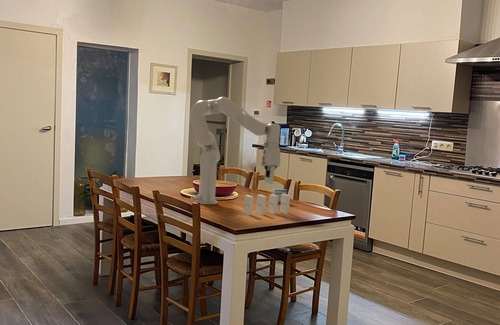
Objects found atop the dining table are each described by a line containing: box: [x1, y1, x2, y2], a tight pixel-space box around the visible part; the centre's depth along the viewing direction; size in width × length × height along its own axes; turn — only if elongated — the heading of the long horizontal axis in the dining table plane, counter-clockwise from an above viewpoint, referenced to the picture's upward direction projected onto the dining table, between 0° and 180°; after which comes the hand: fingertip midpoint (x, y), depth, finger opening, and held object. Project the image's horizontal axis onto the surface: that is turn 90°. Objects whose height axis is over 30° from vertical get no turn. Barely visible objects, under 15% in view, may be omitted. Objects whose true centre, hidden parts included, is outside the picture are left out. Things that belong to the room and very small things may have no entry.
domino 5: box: [279, 194, 291, 214], centre depth 275 cm, size 2×6×10 cm, turn 30°
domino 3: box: [264, 165, 276, 185], centre depth 281 cm, size 2×6×10 cm, turn 31°
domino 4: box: [267, 193, 279, 215], centre depth 271 cm, size 2×6×10 cm, turn 30°
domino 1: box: [243, 194, 254, 216], centre depth 263 cm, size 2×6×10 cm, turn 30°
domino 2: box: [255, 194, 267, 216], centre depth 267 cm, size 2×6×10 cm, turn 31°
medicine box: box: [272, 188, 288, 205], centre depth 303 cm, size 8×4×9 cm, turn 101°
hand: (269, 176), depth 281 cm, fingers closed on domino 3, 1 cm apart
